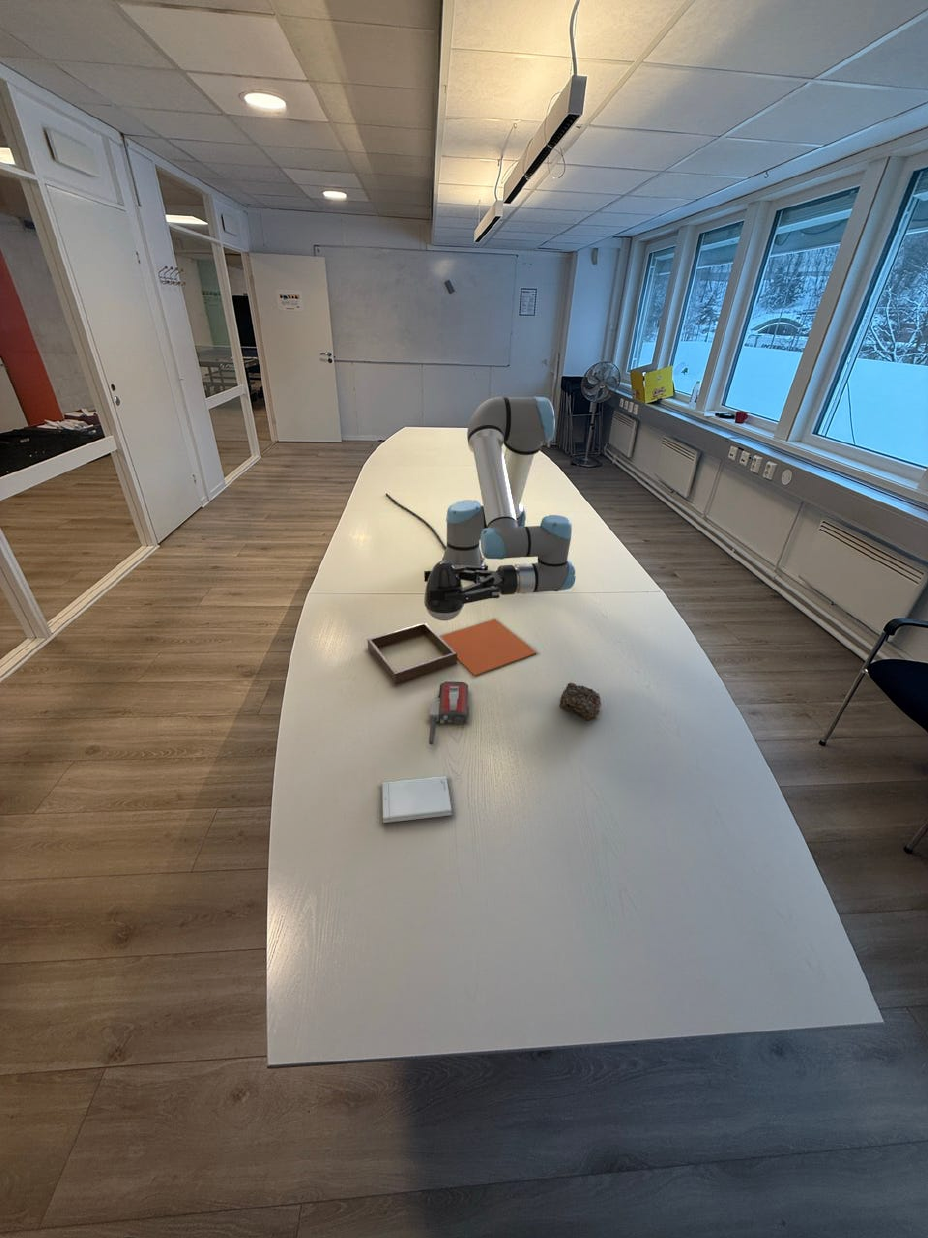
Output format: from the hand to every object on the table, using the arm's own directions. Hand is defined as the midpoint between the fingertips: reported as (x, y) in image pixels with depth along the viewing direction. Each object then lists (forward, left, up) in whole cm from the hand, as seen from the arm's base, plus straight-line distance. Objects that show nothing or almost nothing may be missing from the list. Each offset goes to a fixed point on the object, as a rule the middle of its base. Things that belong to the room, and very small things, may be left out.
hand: (427, 585), depth 123 cm
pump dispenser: (+2, +4, -9) cm, 10 cm away
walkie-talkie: (+24, -7, -21) cm, 33 cm away
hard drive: (+41, -24, -21) cm, 52 cm away
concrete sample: (+37, +21, -21) cm, 47 cm away
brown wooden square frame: (-1, -4, -21) cm, 21 cm away
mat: (+4, +16, -21) cm, 27 cm away
